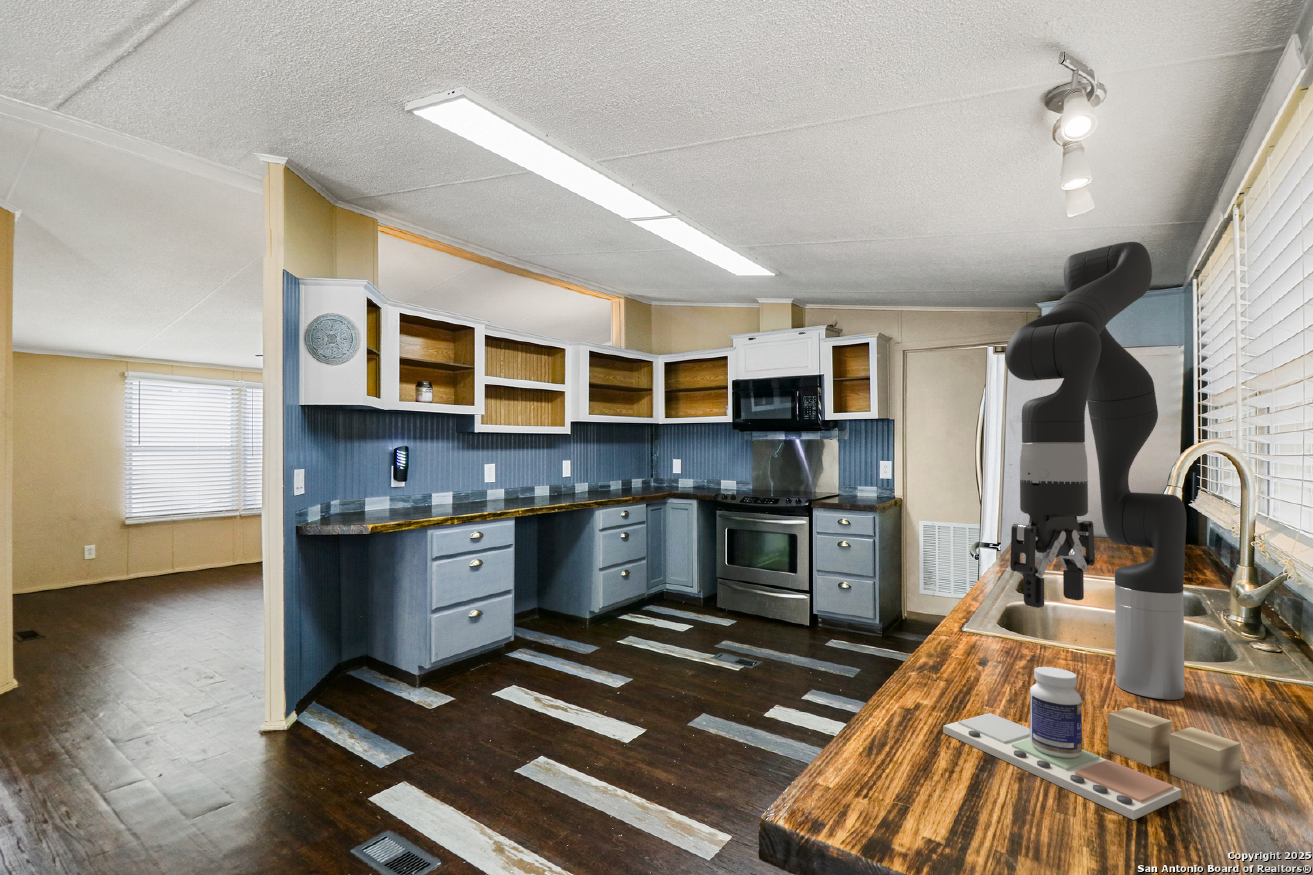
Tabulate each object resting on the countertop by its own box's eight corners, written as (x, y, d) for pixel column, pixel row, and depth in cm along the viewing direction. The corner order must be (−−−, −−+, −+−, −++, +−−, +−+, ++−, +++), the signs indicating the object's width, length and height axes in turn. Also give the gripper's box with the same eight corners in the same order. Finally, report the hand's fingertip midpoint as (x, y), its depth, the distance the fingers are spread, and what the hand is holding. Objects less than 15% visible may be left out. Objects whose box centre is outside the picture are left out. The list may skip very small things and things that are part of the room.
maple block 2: (1191, 766, 81) (1191, 726, 81) (1240, 784, 77) (1240, 742, 77) (1169, 774, 79) (1169, 733, 79) (1219, 793, 75) (1219, 750, 75)
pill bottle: (1090, 762, 79) (1090, 681, 79) (1040, 757, 80) (1039, 677, 80) (1070, 741, 85) (1069, 666, 85) (1023, 737, 86) (1022, 663, 86)
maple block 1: (1129, 743, 88) (1129, 707, 88) (1172, 759, 83) (1171, 720, 83) (1108, 750, 85) (1108, 713, 85) (1151, 767, 81) (1150, 727, 81)
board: (989, 719, 95) (989, 710, 95) (1181, 797, 73) (1180, 786, 73) (943, 732, 90) (943, 723, 90) (1133, 819, 69) (1133, 807, 69)
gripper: (1056, 476, 90) (1057, 591, 89) (991, 477, 83) (991, 602, 83) (1115, 478, 83) (1116, 603, 83) (1048, 479, 76) (1050, 615, 76)
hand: (1054, 602), depth 83 cm, fingers open, 8 cm apart
